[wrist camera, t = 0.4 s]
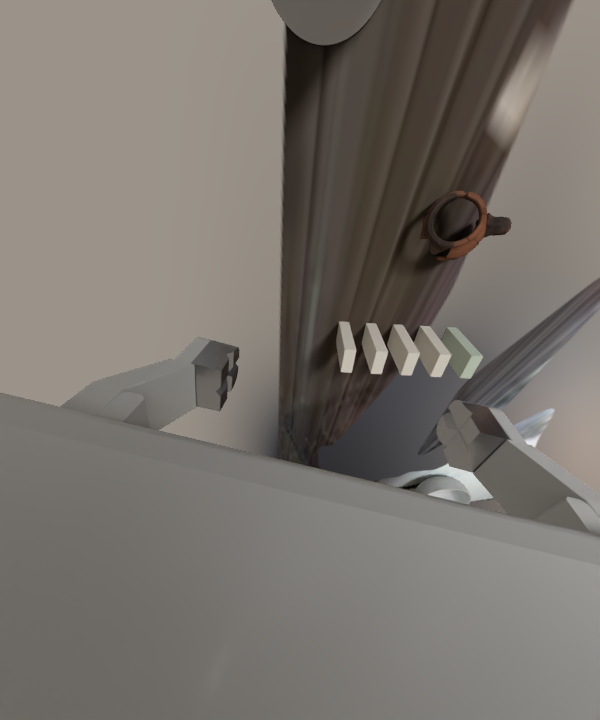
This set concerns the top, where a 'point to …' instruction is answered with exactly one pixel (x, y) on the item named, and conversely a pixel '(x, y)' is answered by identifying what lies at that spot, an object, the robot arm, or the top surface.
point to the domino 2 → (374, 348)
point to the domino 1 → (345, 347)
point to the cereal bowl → (445, 489)
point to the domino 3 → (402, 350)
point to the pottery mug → (461, 247)
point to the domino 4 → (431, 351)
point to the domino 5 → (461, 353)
